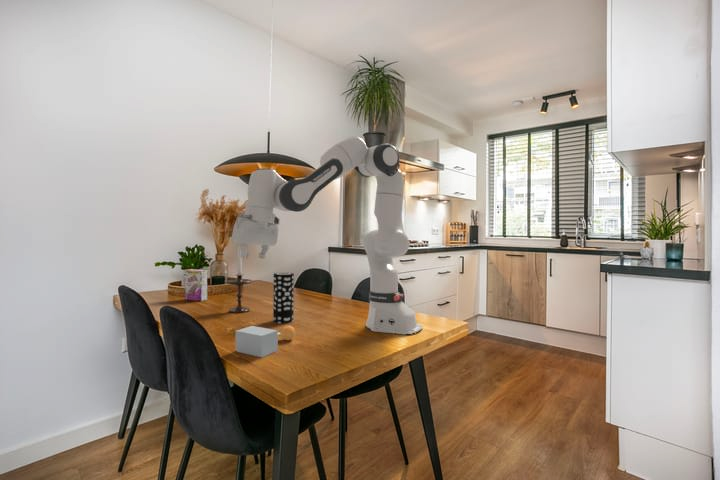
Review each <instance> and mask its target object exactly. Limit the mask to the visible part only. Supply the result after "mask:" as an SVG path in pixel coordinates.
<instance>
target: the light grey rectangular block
mask: <svg viewBox="0 0 720 480" xmlns="http://www.w3.org/2000/svg"><path fill="white" fill-rule="evenodd" d="M278 333H279V331H278V329H271V328H268V327H262V326H261V327H260V326H255V325H250V326H246V327H244V328H241V329H237V330H235V352H236V351H237V353H241V354H245V355H249V356H254V357H258V358H264V357H266V356H268V355H271V354H274V353H276V352H278V348H279V347H278V342H279V341H278V339H279V338H278V337H279V335H278Z"/></svg>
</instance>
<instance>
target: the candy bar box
mask: <svg viewBox="0 0 720 480" xmlns="http://www.w3.org/2000/svg"><path fill="white" fill-rule="evenodd" d="M184 300H185V301H191V300H195V301H194V302H204V301H203V300H205V301H208V270H206V269H193V268H191V269H185V270H184Z"/></svg>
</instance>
